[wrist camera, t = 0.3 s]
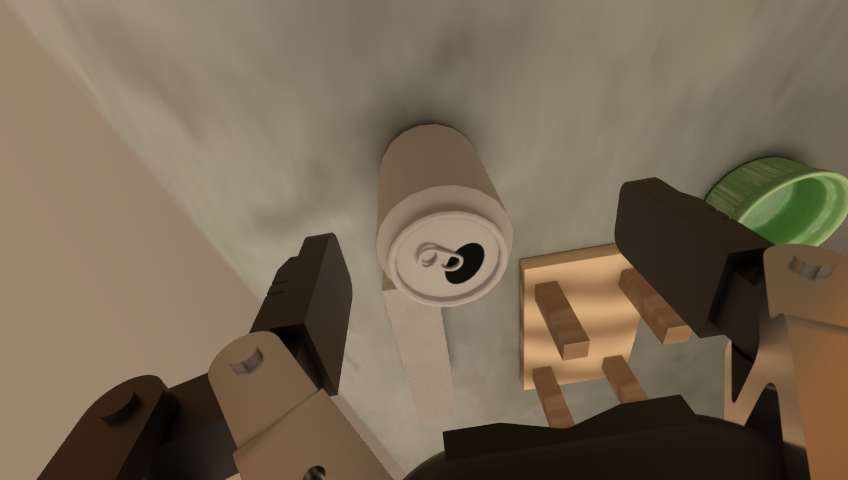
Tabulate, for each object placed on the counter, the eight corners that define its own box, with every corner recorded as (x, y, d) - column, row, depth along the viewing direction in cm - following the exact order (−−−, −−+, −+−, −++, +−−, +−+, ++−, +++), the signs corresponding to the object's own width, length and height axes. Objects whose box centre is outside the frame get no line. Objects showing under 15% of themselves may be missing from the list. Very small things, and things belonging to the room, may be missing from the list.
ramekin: (804, 207, 33) (854, 234, 30) (702, 255, 36) (736, 286, 32) (798, 127, 29) (856, 148, 25) (682, 189, 31) (720, 216, 28)
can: (451, 222, 31) (478, 331, 22) (366, 193, 29) (355, 299, 20) (494, 143, 28) (551, 231, 18) (402, 103, 26) (408, 179, 16)
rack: (519, 259, 34) (552, 329, 27) (649, 237, 34) (715, 303, 27) (520, 379, 45) (543, 451, 38) (618, 363, 45) (660, 433, 38)
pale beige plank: (383, 240, 32) (382, 291, 27) (428, 232, 32) (436, 282, 27) (415, 365, 43) (419, 420, 37) (449, 360, 43) (458, 414, 37)
